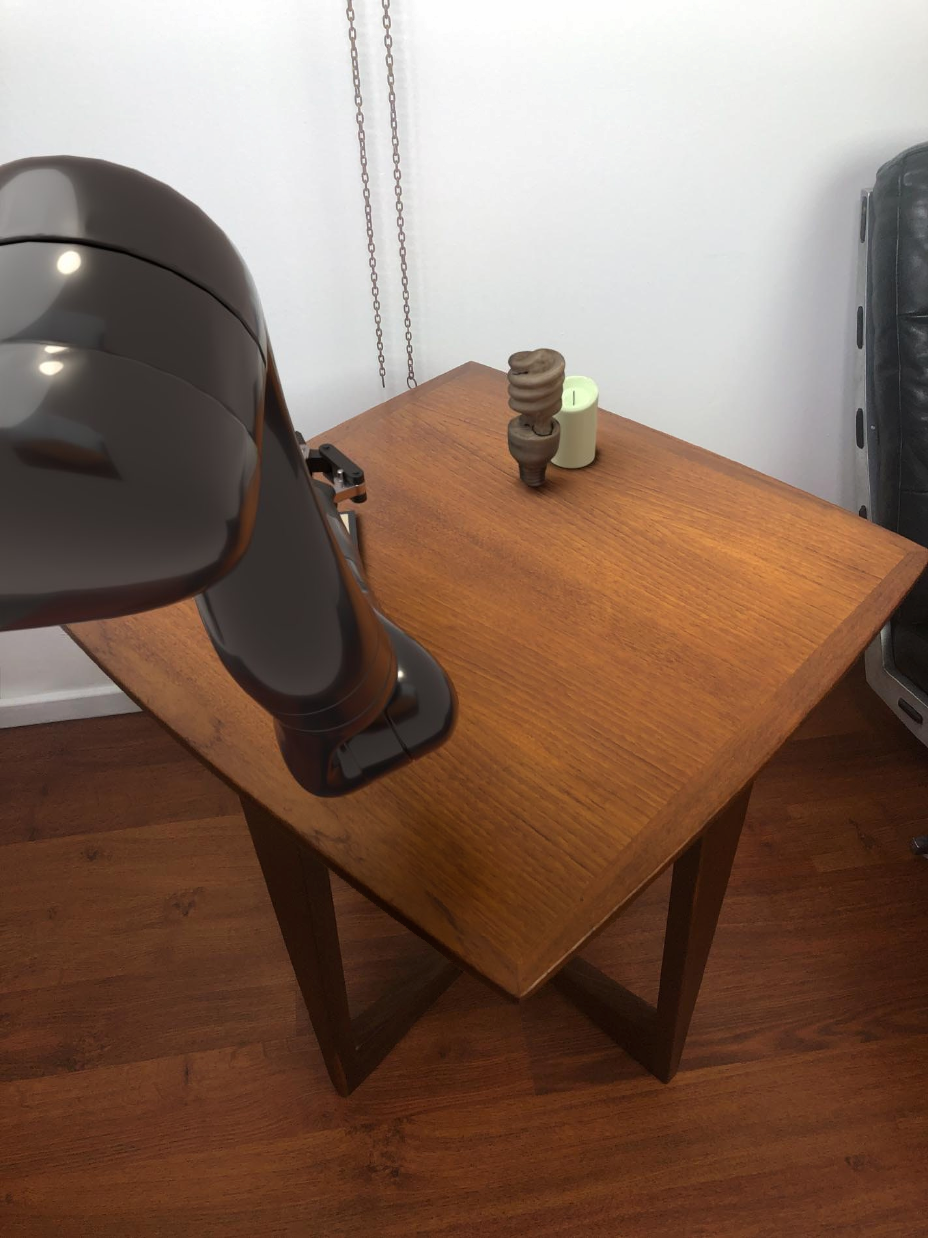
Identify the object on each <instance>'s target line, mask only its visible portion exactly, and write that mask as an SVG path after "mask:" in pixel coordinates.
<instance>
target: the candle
mask: <svg viewBox="0 0 928 1238" xmlns="http://www.w3.org/2000/svg"><path fill="white" fill-rule="evenodd" d="M599 392H600V391H599V387H598V385H597V383H596V382H595V381H594V380H593V379H591V378H589V377H588V376H583V375H569V376H567V377H566V376H565V380H564V383H563V394H562V408H561V410H560V411H559V412H558V413H557V414H555V415H554V416H552V417H554V418H555V419H556V420H557V421H558V422H559V423H560V426H561V430H560V442H559V448H558V451H557V453H556V455H555V456H554V457H553V458H552V459H551V461H550V462H551V463H552V464H554V465H555V466H558V467H561V468H564V469H578V468H583V467H586V466H588V465H590V464H591V463H592V462H593V461H594V460H595V457H596V445H597V444H596V443H597V442H596V441H597V427H598V412H599V411H598V409H599V396H600V395H599V394H600V393H599Z"/></svg>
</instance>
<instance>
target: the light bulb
mask: <svg viewBox="0 0 928 1238" xmlns="http://www.w3.org/2000/svg"><path fill="white" fill-rule="evenodd" d="M507 364H508V366H509V367H510V369H508V372H507V376H506V377H507V381H508V382H509V384H508V386H507V394H508V396H510V397H509V399H508V401H507V402H508V404H507V405H508V407H509V408H510V409H511V410H512V411H513V412H516V413H518V415H516V416H515V417H513V418H512V419H510V421H509V422H508V424H507V434H506V435H507V436H506V437H507V446H508V451H509V454H510V455H511V457H512V458H513V459H514V460H515V462H516V463H517V464H518V472H519V480H521V481H522V482H523V483H524V484H525V485H528V486H531V488H534V487H535V488H536V487H540V486H541V485H543V484H545V482H546V478H547V475H546V474H547V473H546V472H547V469H548V464H549V463H550V462H551V459H552V458H553V457H554V456H555V455H556V453H557V451H558V448H559V442H560V430H561V426H560V423H559V422H558V421H557V420H556V419H555V418H554V417H552V416H554V415H555V414H557V413H558V412H559V411H560V410H561V408H562V394H563V383H564V380H565V378H566V373H565V369H566V359H565V356H564V355H563V354H562V353H561V352H559V351H558V350H555V349H553V348H545V347H541V348H536V349H534V350H522V351H517V352H515V353H512V354H511V355H510V356H509V357H508V360H507Z"/></svg>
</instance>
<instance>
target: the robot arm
mask: <svg viewBox="0 0 928 1238" xmlns="http://www.w3.org/2000/svg"><path fill="white" fill-rule="evenodd" d="M279 374H280V373H279V369H278V366H277V361H276V358H275V354H274V349H273V345H272V340H271V337H270V333H269V330H268V325H267V321H266V317H265V314H264V310H263V306H262V302H261V298H260V295H259V292H258V288H257V285H256V282H255V280H254V277H253V274H252V272H251V271H250V268H249V267H248V264H247V262H246V260H245V259H244V257H243V255H242V254H241V252H240V251H239V249H238V248H237V246H236V244H235V243H234V242H233V241H232V240H231V238H230V237H229V236H228V233H226V232H225V230H223V229H222V227H220V226H219V225H218V223H216V221H214V219H212V217H210V216H209V215H208V214H207V212H205V211H204V210H203V208H202V207H200V206H199V205H198V204H197V203H196V202H194V201H193V200H191V199H189V198H188V197H187V196H185V195H184V194H183V193H181V192H179V191H178V190H177V189H175V188H174V187H173V186H171V185H169V184H168V183H165V182H163V181H162V180H160V179H157V178H156V177H153V176H151V175H149V174H147V173H145V172H143V171H140V170H139V169H136V168H134V167H130V166H127V165H124V164H120V163H116V162H113V161H110V160H107V159H103V158H95V157H86V156H80V155H71V154H58V155H57V154H56V155H39V156H29V157H28V156H27V157H24V158H19V159H15V160H12V161H9V162H6V163H3V164H0V634H1V633H11V632H17V631H18V632H19V631H26V630H28V631H29V630H35V629H43V628H44V629H45V628H52V627H53V628H54V627H60V626H68V625H75V624H84V623H89V622H97V621H98V622H99V621H103V620H111V619H117V618H122V617H128V616H133V615H138V614H144V613H147V612H151V611H156V610H159V609H163V608H167V607H170V606H173V605H176V604H179V603H182V602H185V601H187V600H190V599H193V600H194V602H195V606H196V608H197V611H198V615H199V617H200V620H201V622H202V625H203V627H204V630H205V632H206V635H207V637H208V640H209V641H210V643H211V645H212V647H213V649H214V651H215V652H216V655H217V656H218V658H219V660H220V663H221V664H222V665H223V667H224V669H225V670H226V672H227V673H228V674H229V675H230V676H231V678H232V679H233V680H234V682H235V683H237V685H238V686H239V687H240V689H241V690H242V691H244V693H245V694H246V695H247V696H249V697H250V698H251V699H252V700H253V701H255V703H256V704H257V705H259V706H260V707H261V708H262V709H263V710H264V711H265V712H266V713H268V714H269V715H270V716H271V717H272V723H273V729H274V734H275V739H276V743H277V745H278V748H279V751H280V754H281V757H282V760H283V762H284V764H285V766H286V768H287V770H288V772H289V773H290V775H291V776H292V778H293V779H294V780H295V782H296V783H297V784H298V785H299V786H300V787H301V788H302V789H304V790H305V791H307V793H309V794H310V795H313V796H315V797H317V798H318V797H319V798H323V799H339V798H345V797H348V796H350V795H353V794H355V793H357V792H360V791H362V790H364V789H366V788H367V787H369V786H372V785H373V784H375V783H377V782H379V781H380V780H383V779H384V778H386V777H388V776H390V775H392V774H394V773H396V772H398V771H400V770H401V769H403V768H405V767H408V766H409V765H411V764H413V763H414V762H417V761H420V760H421V759H423V758H425V757H427V756H429V755H431V754H432V753H434V752H436V751H438V750H439V749H441V748H442V747H443V746H445V745H446V744H447V743H448V742H449V741H450V740H451V739H452V737H453V735H454V733H455V732H456V730H457V727H458V724H459V718H460V700H459V695H458V691H457V689H456V686H455V684H454V682H453V680H452V678H451V676H450V674H449V673H448V671H447V670H446V668H445V667H444V666H443V665H442V664H441V662H440V661H439V660H438V658H437V657H436V656H435V655H434V654H433V653H431V651H430V650H428V648H426V647H425V646H424V644H423V643H421V642H420V641H419V640H418V639H416V638H415V637H414V636H413V635H412V634H411V633H409V632H407V630H405V629H404V628H403V627H401V626H400V625H399V624H398V623H396V622H395V620H393V619H392V618H391V617H390V615H388V614H387V612H386V611H385V610H384V609H383V606H382V605H381V603H380V601H379V600H378V598H377V596H376V594H375V592H374V589H373V588H372V586H371V584H370V581H369V579H368V578H367V575H366V573H365V569H364V565H363V561H362V558H361V555H360V552H359V553H358V551H357V549H356V546H355V544H354V542H353V540H352V538H351V536H350V534H349V532H348V530H347V528H346V526H345V524H344V522H343V520H342V518H341V516H340V514H339V512H340V511H339V510H338V507H339V505H338V504H339V503H341V502H344V501H346V500H349V501H351V502H352V503H354V504H358V505H359V504H363V503H365V502H367V500H368V494H367V487H366V479H365V471H364V470H363V469H362V468H361V467H360V466H359V465H357V464H356V463H355V462H354V461H353V460H351V459H350V458H349V457H348V456H346V454H344V453H343V452H342V451H341V450H339V449H338V448H337V447H336V446H335V445H333V444H331V443H323V444H320V445H319V446H318V449H315V448H311V447H310V445H309V444H307V442H306V440H305V439H304V436H303V434H302V432H300V431H298V430H296V429H295V427H294V423H293V420H292V418H291V415H290V411H289V407H288V405H287V402H286V398H285V394H284V389H283V386H282V381H281V379H280V375H279ZM315 473H321V474H322V476H323V477H324V478H325V479H326V480H327V481H328V482H330V483H331V484H332V485H333V486H332V485H331V484H329V483H327V482H324V481H322V480H319V479H316V478H314V476H315Z"/></svg>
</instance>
